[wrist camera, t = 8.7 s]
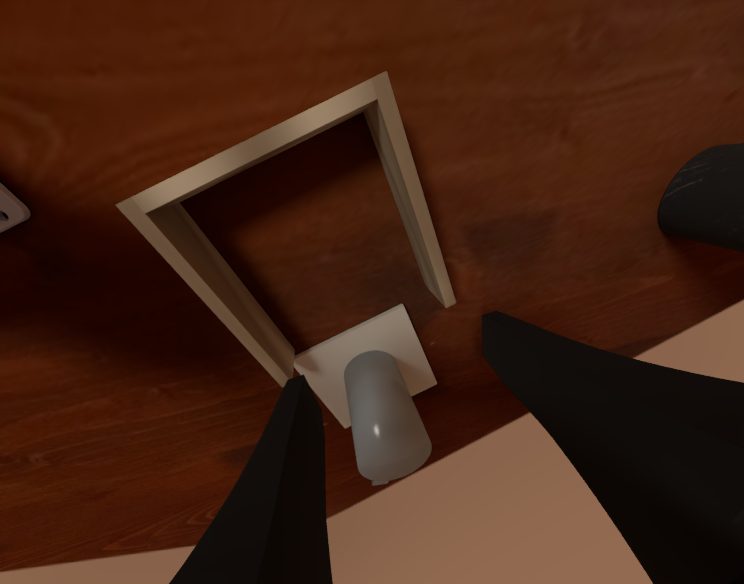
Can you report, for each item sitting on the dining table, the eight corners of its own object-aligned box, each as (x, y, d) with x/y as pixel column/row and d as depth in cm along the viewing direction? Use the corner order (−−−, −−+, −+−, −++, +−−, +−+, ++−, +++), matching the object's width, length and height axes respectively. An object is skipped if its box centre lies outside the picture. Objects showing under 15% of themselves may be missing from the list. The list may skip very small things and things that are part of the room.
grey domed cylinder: (346, 350, 21) (362, 435, 15) (401, 349, 22) (440, 428, 16) (338, 412, 24) (349, 505, 18) (388, 408, 25) (415, 494, 19)
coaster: (344, 425, 26) (345, 428, 25) (289, 358, 21) (289, 361, 21) (435, 380, 26) (437, 383, 25) (402, 303, 21) (403, 305, 20)
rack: (286, 353, 21) (282, 387, 18) (157, 195, 14) (115, 204, 11) (434, 281, 21) (456, 303, 17) (369, 90, 14) (386, 70, 11)
